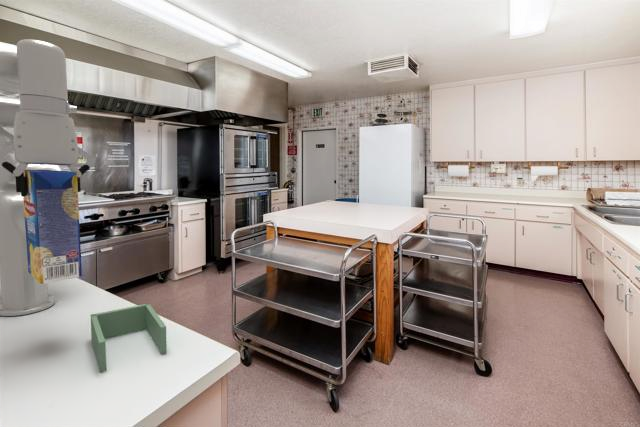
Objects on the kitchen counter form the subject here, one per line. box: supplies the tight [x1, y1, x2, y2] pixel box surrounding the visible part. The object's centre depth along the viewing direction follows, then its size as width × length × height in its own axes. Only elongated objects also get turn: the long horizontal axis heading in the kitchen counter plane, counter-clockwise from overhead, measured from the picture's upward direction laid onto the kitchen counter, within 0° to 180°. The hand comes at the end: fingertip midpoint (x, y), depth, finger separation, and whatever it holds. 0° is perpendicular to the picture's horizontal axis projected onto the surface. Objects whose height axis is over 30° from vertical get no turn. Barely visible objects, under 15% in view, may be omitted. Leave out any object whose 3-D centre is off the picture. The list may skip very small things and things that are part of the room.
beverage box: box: [23, 170, 83, 284], centre depth 71 cm, size 7×11×22 cm, turn 50°
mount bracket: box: [90, 302, 168, 373], centre depth 74 cm, size 15×12×6 cm
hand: (50, 195), depth 70 cm, fingers closed on beverage box, 7 cm apart
